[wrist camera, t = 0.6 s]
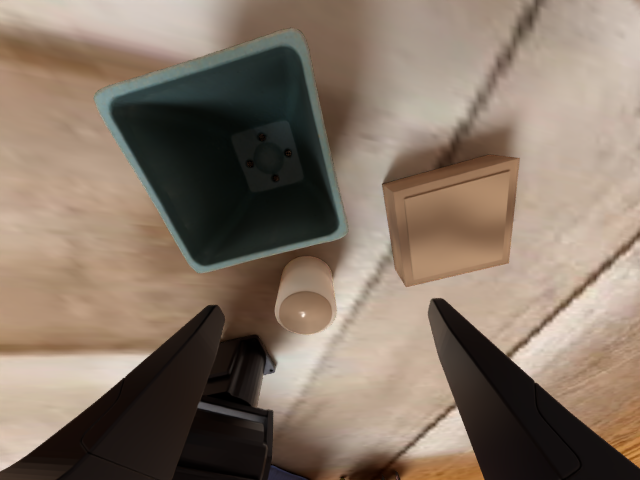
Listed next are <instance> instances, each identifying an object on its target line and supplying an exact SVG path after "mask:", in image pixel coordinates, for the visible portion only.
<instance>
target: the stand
mask: <svg viewBox="0 0 640 480" xmlns="http://www.w3.org/2000/svg"><path fill="white" fill-rule="evenodd" d="M519 159H520V158H514V157H506V156H497V155H486V156H483V157H479V158H475V159H472V160H468V161H464V162H461V163H457V164H454V165H450V166H446V167H443V168H439V169H435V170H432V171H428V172H425V173H421V174H417V175H414V176H410V177H406V178H403V179H399V180H396V181H392V182H388V183H385V184H382V187H383V193H384V200H385V206H386V213H387V219H388V226H389V232H390V239H391V245H392V252H393V258H394V265H395V270H396V271H397V273H398V275H399V276H400V278H401V280H402V281H403V283H404V285H405V286H406V287H409V286H413V285H417V284H422V283H426V282H430V281H434V280H439V279H443V278H447V277H452V276H456V275H460V274H464V273H469V272H473V271H477V270H482V269H486V268H490V267H494V266H499V265H503V264H507V263H509V255H510V246H511V236H512V227H513V217H514V207H515V198H516V188H517V179H518V169H519Z"/></svg>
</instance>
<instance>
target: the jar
mask: <svg viewBox="0 0 640 480" xmlns="http://www.w3.org/2000/svg"><path fill="white" fill-rule="evenodd" d="M336 313H337V308H336V301H335V293H334V286H333V279H332V272H331V270H330V268H329V266H328V265H327V264H326V263H325V262H324V261H322V260H321V259H319V258H316V257H312V256H302V257H298V258H295V259H293V260H292V261H290V262H289V263H288V264H287V265H286V266H285V268H284V270H283V273H282V277H281V282H280V286H279V291H278V295H277V300H276V304H275V317H276V319H277V321H278V322H279V324H280V325H281V326H282V327H283V328H285V329H286V330H288V331H290V332H293V333H296V334H302V335H310V334H315V333H319V332H321V331H323V330H325V329H327V328H328V327H329V326H330V325H331V324H332V323H333V321H334V320H335V317H336Z"/></svg>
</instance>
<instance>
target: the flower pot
mask: <svg viewBox="0 0 640 480" xmlns="http://www.w3.org/2000/svg"><path fill="white" fill-rule="evenodd" d="M94 101H95V103H96V106H97V109H98V111H99V113H100V115H101V118H102V119H103V121H104V123H105V125H106V126H107V128H108V130H109V131H110V133H111V134H112V136H113V138H114V139H115V141H116V143H117V145H118V146H119V147H120V149H121V151H122V152H123V154H124V155H125V157H126V159H127V160H128V162H129V163H130V165H131V167H132V168H133V170H134V172H135V173H136V175H137V177H138V178H139V180H140V181H141V183H142V185H143V187H144V189H145V190H146V192H147V193H148V195H149V197H150V198H151V200H152V202H153V203H154V205H155V207H156V208H157V210H158V212H159V214H160V216H161V217H162V219H163V220H164V222H165V224H166V226H167V228H168V229H169V232H170V233H171V235H172V236H173V238H174V240H175V242H176V244H177V245H178V247H179V249H180V251H181V252H182V254H183V256H184V257H185V259H186V261H187V262H188V264H189V265H190V266H191V267H192V268H193V269H194V270H195V271H196V272H197V273H206V272H211V271H214V270H218V269H223V268H226V267H229V266H234V265H237V264H240V263H244V262H247V261H252V260H256V259H259V258H263V257H268V256H272V255H276V254H279V253H283V252H287V251H292V250H295V249H299V248H304V247H308V246H313V245H317V244H321V243H325V242H331V241H335V240H338V239H340V238H342V237H344V236H345V235H346V234H347V233H348V224H347V219H346V215H345V212H344V207H343V203H342V198H341V195H340V190H339V187H338V182H337V177H336V173H335V169H334V165H333V160H332V155H331V151H330V147H329V142H328V138H327V134H326V129H325V125H324V120H323V115H322V111H321V106H320V101H319V96H318V92H317V87H316V82H315V78H314V72H313V66H312V61H311V57H310V52H309V48H308V45H307V42H306V39H305V37H304V35H303V33H302V32H301V31H300V30H298V29H295V28H289V29H283V30H280V31H276V32H274V33H271V34H269V35H266V36H262V37H259V38H257V39H254V40H251V41H247V42H244V43H242V44H239V45H236V46H233V47H229V48H227V49H224V50H221V51H217V52H214V53H211V54H208V55H205V56H203V57H199V58H196V59H193V60H189V61H187V62H183V63H180V64H177V65H174V66H171V67H168V68H165V69H161V70H157V71H155V72H151V73H148V74H145V75H142V76H138V77H136V78H132V79H129V80H125V81H122V82H119V83H116V84H112V85H109V86H106V87H104V88H102V89H100V90H98V91H97V92H96V93H95V95H94ZM260 134H264V135H265V140H264V141H260V140H259V135H260ZM286 150H290V151H291V153H292V154H291V156H290V157H288V156H286V154H285V152H286ZM249 160H250V161H252V162H253V164H254V165H253V167H248V165H247V162H248V161H249ZM274 175H277V176H278V177H279V180H278V181H274V180H273V176H274Z"/></svg>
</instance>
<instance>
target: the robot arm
mask: <svg viewBox="0 0 640 480" xmlns="http://www.w3.org/2000/svg"><path fill="white" fill-rule="evenodd" d="M428 318H429V322H430V326H431V330H432V334H433V337H434V341H435V345H436V349H437V353H438V356H439V359H440V362H441V365H442V367H443V370H444V373H445V375H446V378H447V381H448V383H449V386H450V389H451V391H452V394H453V397H454V399H455V402H456V405H457V407H458V410H459V413H460V415H461V418H462V421H463V423H464V426H465V429H466V431H467V434H468V437H469V439H470V442H471V445H472V447H473V450H474V453H475V455H476V458H477V461H478V463H479V466H480V469H481V471H482V474H483V477H484V479H485V480H640V468H639V467H637V466H636V465H635V464H634V463H632V462H631V461H630V460H629V459H627V458H626V457H625V456H624V455H622V454H621V453H620V452H618V451H617V450H616V449H615V448H613V447H612V446H611V445H610V444H608V443H607V442H606V441H605V440H603V439H602V438H601V437H600V436H598V435H597V434H596V433H595V432H594V431H592V430H591V429H590V428H589V427H587V426H586V425H585V424H584V423H583V422H581V421H580V420H579V419H578V418H576V417H575V416H574V415H573V414H572V413H570V412H569V411H568V410H567V409H566V408H565V407H563V406H562V405H561V404H560V403H559V402H558V401H557V400H555V399H554V398H553V397H552V396H551V395H550V394H549V393H548V392H546V391H545V390H544V389H543V388H542V387H541V386H540V385H539V384H537V383H535V382H534V380H533V379H532V378H531V377H530V376H528V375H527V374H526V373H525V372H524V371H523V370H522V369H521V368H520V367H519V366H517V365H516V364H515V363H514V362H513V361H512V360H511V359H510V358H509V357H507V356H506V355H505V354H504V353H503V352H502V351H501V350H500V349H499V348H497V347H496V346H495V345H494V344H493V343H492V342H491V341H490V340H489V339H487V338H486V337H485V336H484V335H483V334H482V333H481V332H480V331H479V330H477V329H476V328H475V327H474V326H473V325H472V324H471V323H470V322H469V321H467V320H466V319H465V318H464V317H463V316H462V315H461V314H460V313H459V312H457V311H456V310H455V309H454V308H453V307H452V306H451V305H450V304H449V303H447V302H446V301H445V300H444V299H442V298H433V299H431V301H430V305H429V309H428ZM224 323H225V316H224V314H223V312H222V311H221V309H220V307H219V306H218V305H208V306H207V307H205V308H204V309H203V310H202V311H201V312H200V313H198V314H197V315H196V316H195V317H194V318H193V319H191V320H190V321H189V322H188V323H187V324H186V325H185V326H183V327H182V328H181V329H180V330H179V331H178V332H176V333H175V334H174V335H173V336H172V337H171V338H169V339H168V340H167V341H166V342H165V343H164V344H163V345H161V346H160V347H159V348H158V349H157V350H156V351H154V352H153V353H152V354H151V355H150V356H149V357H147V358H146V359H145V360H144V361H143V362H142V363H141V364H139V365H138V366H137V367H136V368H135V369H134V370H132V371H131V372H130V373H129V374H128V375H127V376H126V377H125V378H123V379H122V380H121V381H120V382H118V383H117V384H116V385H115V386H114V387H113V388H111V389H110V390H109V391H108V392H107V393H105V394H104V395H103V396H102V397H101V398H100V399H98V400H97V401H96V402H95V403H93V404H92V405H91V406H90V407H88V408H87V409H86V410H85V411H83V412H82V413H81V414H80V415H78V416H77V417H76V418H74V419H73V420H72V421H71V422H69V423H68V424H67V425H66V426H64V427H63V428H62V429H60V430H59V431H58V432H57V433H55V434H54V435H53V436H51V437H50V438H49V439H48V440H46V441H45V442H44V443H42V444H41V445H40V446H39V447H37V448H36V449H35V450H33V451H32V452H31V453H29V454H28V455H27V456H25V457H24V458H22V459H21V460H19V461H18V462H16V463H15V464H13V465H11V466H10V467H8V468H6V469H4V470H2V471H0V480H268V476H269V472H270V466H271V460H272V441H273V410H269V409H268V410H264V409H260V408H257V404H258V399H259V394H260V389H261V384H262V379H263V375H266V374H271V373H274V372H275V369H276V367H275V365H274V363H273V361H272V360H271V358H270V356H269V354H268V352H267V351H266V349H265V347H264V345H263V343H262V341H261V340H260V338H259V336H257V335H252V336H248V337H243V338H239V339H235V340H230V341H226V342H221V343H220V339H221V335H222V331H223V327H224ZM254 339H255V340H254Z"/></svg>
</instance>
